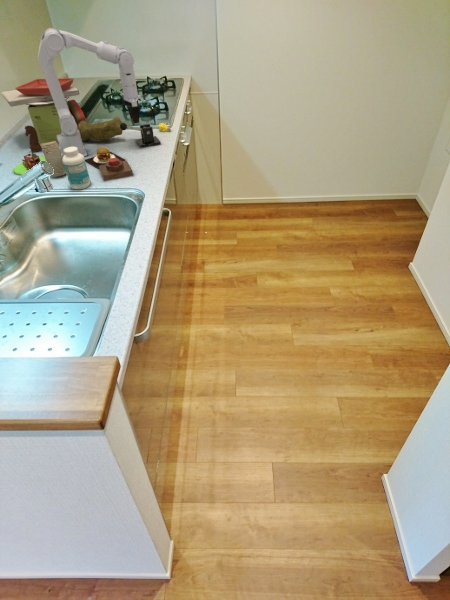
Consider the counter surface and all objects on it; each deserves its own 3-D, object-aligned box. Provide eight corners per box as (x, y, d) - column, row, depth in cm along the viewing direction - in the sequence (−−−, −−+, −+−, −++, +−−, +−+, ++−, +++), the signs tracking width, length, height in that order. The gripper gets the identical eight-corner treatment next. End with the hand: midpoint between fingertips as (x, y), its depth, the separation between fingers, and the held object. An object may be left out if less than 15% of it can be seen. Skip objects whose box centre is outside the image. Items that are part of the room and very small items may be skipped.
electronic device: (10, 106, 162) (9, 101, 160) (1, 94, 174) (-1, 89, 173) (80, 94, 173) (79, 89, 171) (66, 83, 185) (65, 79, 184)
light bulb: (156, 130, 186) (159, 127, 188) (169, 135, 186) (171, 132, 189) (157, 123, 184) (160, 120, 186) (170, 128, 184) (172, 125, 186)
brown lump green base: (35, 178, 152) (29, 163, 147) (8, 171, 157) (1, 156, 153) (63, 163, 161) (59, 148, 157) (37, 157, 167) (31, 142, 162)
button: (110, 166, 150) (109, 162, 148) (108, 163, 152) (107, 158, 151) (120, 165, 150) (119, 160, 149) (118, 161, 153) (117, 157, 152)
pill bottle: (72, 181, 149) (61, 145, 140) (92, 180, 149) (83, 144, 140) (68, 190, 143) (57, 153, 134) (89, 189, 144) (79, 152, 135)
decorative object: (81, 139, 184) (70, 127, 192) (89, 137, 185) (77, 126, 194) (74, 109, 174) (62, 98, 182) (82, 107, 175) (70, 96, 184)
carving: (51, 178, 149) (39, 144, 144) (50, 176, 155) (39, 143, 150) (68, 174, 151) (57, 141, 146) (67, 172, 157) (56, 140, 152)
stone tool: (81, 133, 183) (79, 147, 177) (74, 115, 175) (72, 129, 170) (125, 130, 184) (125, 143, 179) (121, 112, 176) (120, 125, 171)
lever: (120, 130, 167) (120, 123, 165) (118, 128, 169) (119, 121, 167) (150, 135, 173) (151, 128, 171) (148, 133, 175) (149, 126, 173)
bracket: (140, 148, 172) (137, 130, 167) (136, 141, 178) (133, 124, 173) (160, 144, 174) (158, 127, 170) (156, 138, 180) (153, 121, 175)
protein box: (74, 140, 180) (64, 104, 170) (39, 144, 178) (26, 107, 167) (76, 133, 188) (66, 97, 177) (42, 136, 185) (30, 100, 175)
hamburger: (110, 152, 169) (107, 139, 165) (125, 160, 162) (122, 147, 159) (84, 160, 163) (81, 147, 160) (99, 169, 157) (95, 155, 153)
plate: (62, 107, 165) (61, 103, 164) (12, 108, 165) (10, 104, 164) (76, 94, 181) (75, 90, 180) (30, 95, 181) (29, 91, 180)
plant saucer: (16, 96, 165) (13, 87, 163) (38, 86, 179) (36, 78, 176) (57, 96, 162) (54, 87, 160) (76, 86, 176) (74, 78, 174)
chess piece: (29, 151, 172) (19, 127, 167) (39, 148, 175) (30, 123, 170) (34, 152, 170) (24, 127, 164) (45, 148, 173) (35, 124, 167)
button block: (104, 181, 149) (101, 170, 146) (99, 170, 156) (97, 160, 153) (133, 175, 152) (131, 165, 149) (127, 165, 159) (125, 155, 156)
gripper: (142, 88, 156) (147, 124, 165) (135, 79, 166) (141, 113, 175) (124, 90, 154) (130, 126, 163) (118, 81, 164) (124, 116, 173)
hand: (134, 120), depth 169 cm, fingers open, 7 cm apart
